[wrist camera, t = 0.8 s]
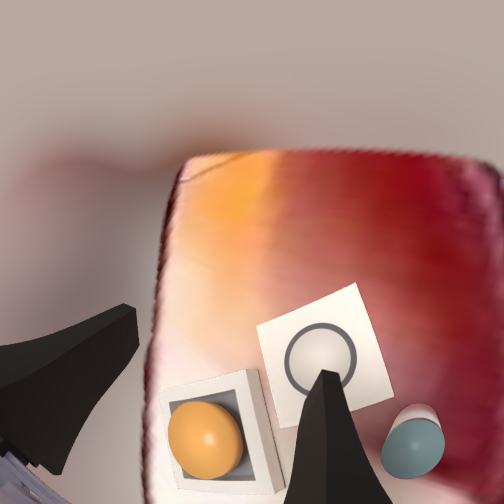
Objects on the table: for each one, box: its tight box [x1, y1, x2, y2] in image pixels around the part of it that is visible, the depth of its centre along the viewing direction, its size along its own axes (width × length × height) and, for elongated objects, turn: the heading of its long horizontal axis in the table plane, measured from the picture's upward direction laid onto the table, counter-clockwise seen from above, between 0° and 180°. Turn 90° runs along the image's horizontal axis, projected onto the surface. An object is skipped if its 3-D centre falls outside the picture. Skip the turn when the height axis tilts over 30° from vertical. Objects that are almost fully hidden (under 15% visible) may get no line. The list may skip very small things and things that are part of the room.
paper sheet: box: [256, 283, 394, 429], centre depth 22 cm, size 10×10×1 cm
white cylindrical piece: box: [381, 403, 445, 479], centre depth 13 cm, size 4×4×7 cm
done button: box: [168, 401, 243, 480], centre depth 22 cm, size 8×8×2 cm
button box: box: [158, 369, 285, 495], centre depth 23 cm, size 12×12×2 cm
